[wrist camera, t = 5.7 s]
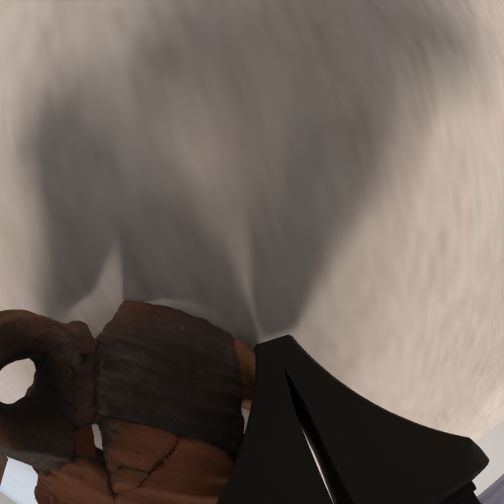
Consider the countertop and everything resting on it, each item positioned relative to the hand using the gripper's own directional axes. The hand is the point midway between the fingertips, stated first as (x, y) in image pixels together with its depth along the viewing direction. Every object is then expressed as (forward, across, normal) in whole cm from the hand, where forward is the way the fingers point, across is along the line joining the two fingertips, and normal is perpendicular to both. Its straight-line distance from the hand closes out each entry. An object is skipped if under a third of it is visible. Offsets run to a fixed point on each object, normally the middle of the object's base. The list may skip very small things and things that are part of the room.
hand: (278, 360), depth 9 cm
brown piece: (+1, +6, 0) cm, 6 cm away
